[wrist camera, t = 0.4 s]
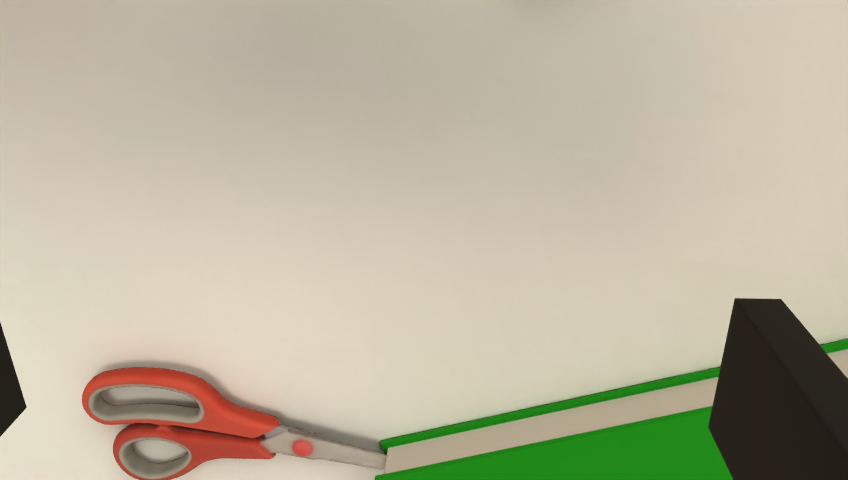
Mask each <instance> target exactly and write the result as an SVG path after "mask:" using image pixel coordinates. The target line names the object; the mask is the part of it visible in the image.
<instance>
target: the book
mask: <svg viewBox="0 0 848 480" xmlns="http://www.w3.org/2000/svg"><path fill="white" fill-rule="evenodd" d="M820 346H821V347H822V349H823V350H824V351H825V352H826V353H827V354H828V356H829V357H830V358H831V359H832V360H833V362H834V363H835V364H836V365H837V366H838V368H839V369H840V370H841V371H842V372H843V374H844V375H845V376H846V377H847V378H848V339H847V340H842V341H837V342H833V343H828V344H824V345H820ZM719 372H720V367H718V368H713V369H708V370H704V371H699V372H695V373H690V374H685V375H681V376H676V377H672V378H667V379H662V380H658V381H653V382H649V383H644V384H639V385H635V386H630V387H626V388H621V389H616V390H612V391H607V392H603V393H598V394H593V395H589V396H584V397H580V398H575V399H570V400H566V401H561V402H557V403H552V404H547V405H543V406H538V407H534V408H529V409H524V410H520V411H515V412H511V413H506V414H501V415H497V416H492V417H487V418H483V419H478V420H474V421H469V422H464V423H460V424H455V425H451V426H446V427H441V428H437V429H432V430H428V431H423V432H418V433H414V434H409V435H405V436H400V437H395V438H391V439H386V440H382V441H381V447H382V449H383V452H384V454H385V455H388V457H387V458H386V465H385V472H384V474H382V475H377V476H375V480H733V478H732V476H731V474H730V472H729V470H728V468H727V466H726V464H725V461H724V459H723V457H722V455H721V453H720V451H719V449H718V447H717V445H716V443H715V441H714V439H713V437H712V435H711V432H710V430H709V428H708V425H709V420H710V415H711V411H712V406H713V401H714V396H715V391H716V387H717V382H718V377H719Z"/></svg>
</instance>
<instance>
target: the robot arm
mask: <svg viewBox="0 0 848 480" xmlns="http://www.w3.org/2000/svg"><path fill="white" fill-rule="evenodd" d="M26 408H27V407H26V404H25V401H24V398H23V394H22V391H21V388H20V385H19V381H18V378H17V375H16V372H15V369H14V365H13V362H12V359H11V356H10V352H9V349H8V346H7V343H6V339H5V336H4V333H3V330H2V327H1V323H0V436H1V435H2V434H3V433H4V432H5V431H6V430H7V429H8V427H9V426H10V425H11V424H12V423H13V422H14V421H15V420H16V419H17V418H18V416H19V415H20V414H21V413H22V412H23V411H24V410H25V409H26ZM708 428H709V430H710V432H711V435H712V437H713V439H714V441H715V443H716V445H717V447H718V449H719V451H720V453H721V455H722V457H723V459H724V461H725V464H726V466H727V468H728V470H729V472H730V474H731V476H732V478H733V480H848V378H847V377H846V376H845V375H844V374H843V372H842V371H841V370H840V369H839V368H838V366H837V365H836V364H835V363H834V362H833V360H832V359H831V358H830V357H829V356H828V354H827V353H826V352H825V351H824V350H823V349H822V347H821V346H820V345H819V344H818V343H817V341H816V340H815V339H814V338H813V337H812V335H811V334H810V333H809V332H808V331H807V329H806V328H805V327H804V326H803V325H802V324H801V322H800V321H799V320H798V319H797V318H796V316H795V315H794V314H793V313H792V312H791V310H790V309H789V308H788V307H787V306H786V304H785V303H784V302H783V301H782V300H781V299H740V298H735V300H734V305H733V310H732V315H731V319H730V324H729V329H728V334H727V339H726V343H725V348H724V353H723V358H722V363H721V367H720V372H719V377H718V382H717V387H716V391H715V396H714V401H713V406H712V411H711V415H710V420H709V425H708Z"/></svg>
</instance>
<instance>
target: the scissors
mask: <svg viewBox="0 0 848 480" xmlns="http://www.w3.org/2000/svg"><path fill="white" fill-rule="evenodd" d="M130 386H140V387H153V388H161V389H167V390H172V391H176V392H179V393H183V394H186V395H188V396H190V397H191V398H193V399H194V400H195V401H196V402H197V403H198V405H199V407H200V408H191V407H184V406H177V405H166V404H131V405H122V406H114V405H111V404H109V403H107V402H106V401H105V400H104V398H103V397H102V391H103V390H106V389H111V388H117V387H130ZM82 403H83V407H84V409H85V411H86V413H87V414H88V415H89V416H90V417H91V418H93V419H94V420H96V421H97V422H100V423H102V424H107V425H116V424H127V423H134V424H132V425H129V426H127V427H126V428H124V429H123V430H122V431H120V432H119V434H118V435H117V436H116V438H115V441H114V444H113V454H114V457H115V460H116V462H117V463H118V465H119V466H120V467H121V469H122V470H123V471H125V472H126V473H127V474H128V475H130V476H132V477H134V478H136V479H139V480H171V479H174V478H177V477H179V476H182V475H184V474H186V473H187V472H189V471H191V470H192V469H194V468H195V467H197V466H198V465H200V464H202V463H204V462H206V461H209V460H213V459H219V458H242V459H271V458H273V457H274V456H275V455H276V453H281V454H286V455H292V456H298V457H303V458H308V459H324V460H330V461H336V462H342V463H348V464H354V465H360V466H366V467H371V468H377V469H384V470H385V465H386V458H387V457H388V455H385V454H382V453H379V452H375V451H370V450H367V449H363V448H359V447H356V446H351V445H347V444H344V443H340V442H337V441H334V440H331V439H329V438H327V437H324V436H323V435H322V434H320V433H314V434H316V435H311V434H310V433H308V432H306V431H304V430H302V429H298V428H296V429H297V430H296V429H295V428H293V427H289V426H288V427H287V426H285V425H281V424H279V420H278V418H277V417H275V416H272V415H268V414H265V413H261V412H257V411H254V410H251V409H247V408H244V407H240V406H238V405H235V404H233V403H231V402H229V401H228V400H226V399H225V398H224V397H223V396H222V395H220V394H219V393H218V391H217V390H216V389H215V388H214V387H212V386H211V385H210V384H209V383H207V382H206V381H204V380H203V379H201V378H199V377H197V376H194V375H191V374H188V373H185V372H180V371H175V370H170V369H163V368H150V367H132V368H122V369H115V370H110V371H105V372H103V373H100V374H98V375H97V376H95V377H94V378H93V379H92V380H91V381H90V382H89V383H88V384H87V386H86V387H85V390H84V392H83V395H82ZM263 434H264V436H265V437H264V436H263ZM140 440H161V441H167V442H171V443H174V444H177V445H179V446H181V447H183V448H185V449H186V450H187V452H188V453H187V454H185V455H184V456H182V457H181V458H179V459H177V460H174V461H171V462H167V463H152V462H149V461H146V460H144V459H142V458H141V457H139V456H138V455H137V454H136V453H135V452H134V450H133V449H132V446H131V443H133V442H136V441H140Z"/></svg>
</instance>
